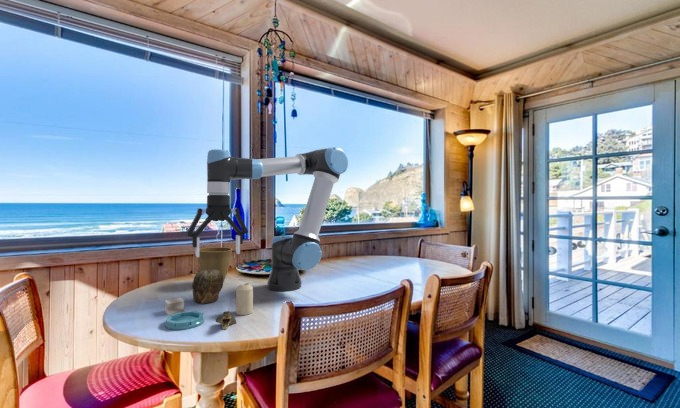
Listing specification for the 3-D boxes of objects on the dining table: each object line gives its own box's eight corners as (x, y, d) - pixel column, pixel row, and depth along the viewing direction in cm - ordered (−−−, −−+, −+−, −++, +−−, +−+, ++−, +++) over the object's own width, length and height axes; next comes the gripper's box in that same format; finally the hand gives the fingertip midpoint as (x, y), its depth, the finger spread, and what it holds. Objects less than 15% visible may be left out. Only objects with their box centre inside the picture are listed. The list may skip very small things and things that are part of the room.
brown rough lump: (212, 306, 119) (213, 273, 119) (185, 304, 121) (186, 271, 121) (228, 297, 130) (229, 267, 129) (203, 295, 132) (204, 265, 132)
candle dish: (205, 315, 110) (205, 309, 110) (202, 327, 99) (202, 321, 99) (169, 318, 106) (169, 312, 106) (161, 331, 96) (161, 324, 96)
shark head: (235, 334, 98) (239, 312, 97) (213, 333, 96) (217, 310, 95) (236, 322, 105) (240, 302, 105) (215, 320, 103) (219, 300, 103)
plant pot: (231, 287, 144) (231, 251, 144) (194, 289, 140) (194, 252, 140) (232, 279, 159) (233, 246, 158) (199, 280, 155) (200, 247, 154)
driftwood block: (180, 308, 116) (180, 297, 116) (184, 312, 112) (184, 301, 112) (164, 311, 113) (165, 300, 113) (167, 315, 109) (168, 303, 109)
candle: (246, 308, 117) (246, 281, 117) (255, 312, 114) (256, 283, 113) (232, 312, 113) (233, 283, 113) (242, 316, 109) (242, 286, 109)
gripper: (250, 195, 124) (250, 250, 125) (177, 193, 111) (177, 256, 111) (257, 195, 118) (256, 253, 118) (180, 193, 104) (180, 260, 105)
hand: (218, 255), depth 115 cm, fingers open, 13 cm apart
